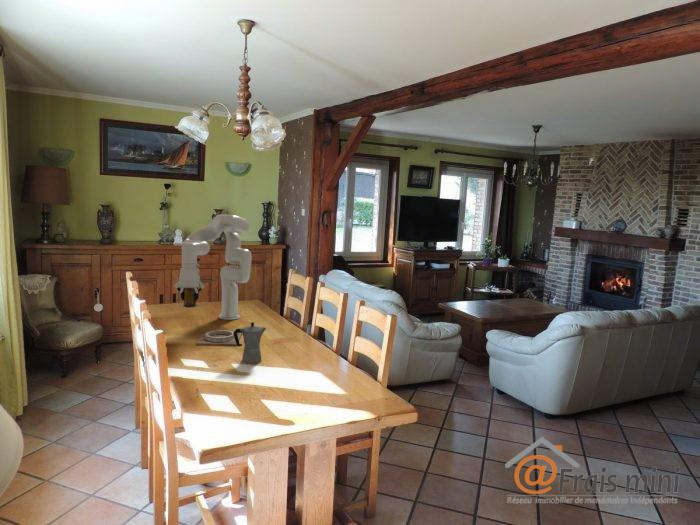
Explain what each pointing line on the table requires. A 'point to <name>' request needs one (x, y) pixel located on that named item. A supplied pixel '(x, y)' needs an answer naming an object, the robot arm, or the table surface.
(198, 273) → the robot arm
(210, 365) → the table surface
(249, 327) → the coffeepot
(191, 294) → the condiment
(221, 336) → the holder
